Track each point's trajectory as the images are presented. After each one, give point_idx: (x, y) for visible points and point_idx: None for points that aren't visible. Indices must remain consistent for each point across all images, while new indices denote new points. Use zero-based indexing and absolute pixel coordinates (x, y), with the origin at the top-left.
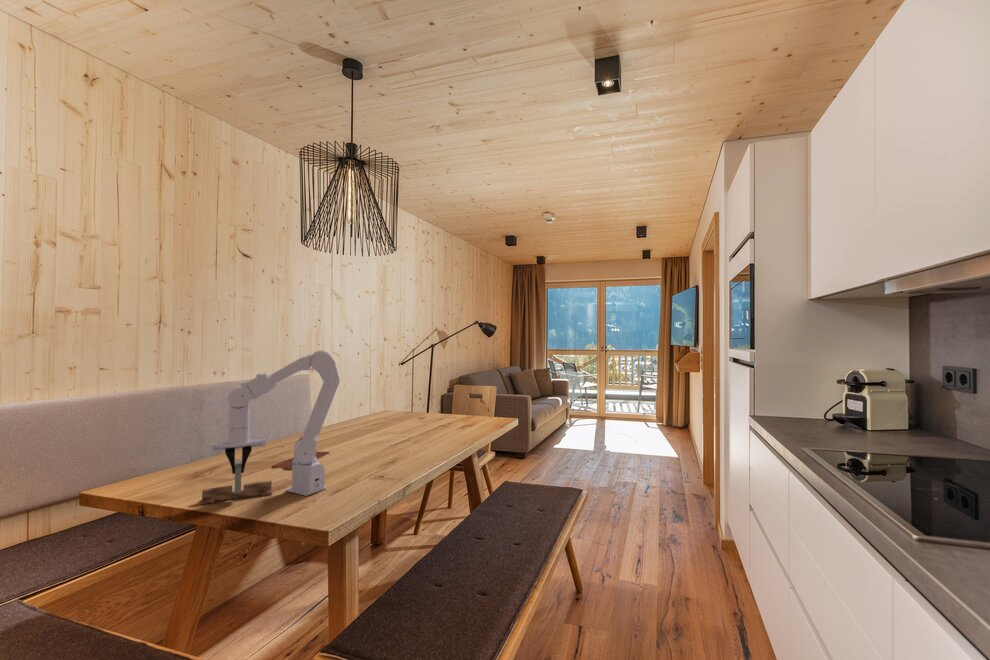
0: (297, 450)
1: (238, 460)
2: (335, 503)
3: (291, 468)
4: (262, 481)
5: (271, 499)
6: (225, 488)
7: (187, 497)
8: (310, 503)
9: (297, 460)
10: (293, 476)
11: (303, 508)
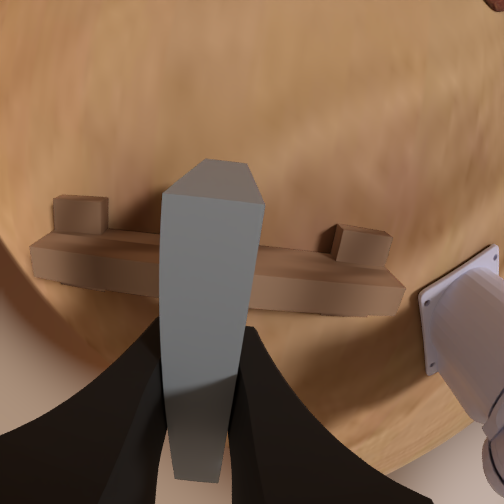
0: (497, 492)
1: (213, 211)
2: (426, 426)
3: (495, 3)
4: (363, 286)
5: (338, 358)
6: (139, 291)
7: (15, 125)
8: (397, 418)
9: (484, 452)
10: (461, 364)
11: (366, 438)
